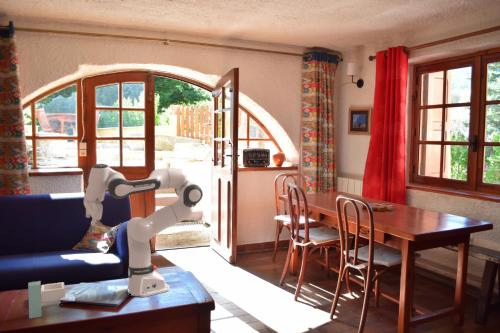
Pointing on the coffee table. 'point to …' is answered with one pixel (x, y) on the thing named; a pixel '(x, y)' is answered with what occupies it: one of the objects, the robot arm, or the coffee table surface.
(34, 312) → the teal block
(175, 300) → the coffee table surface
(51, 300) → the white block stand
